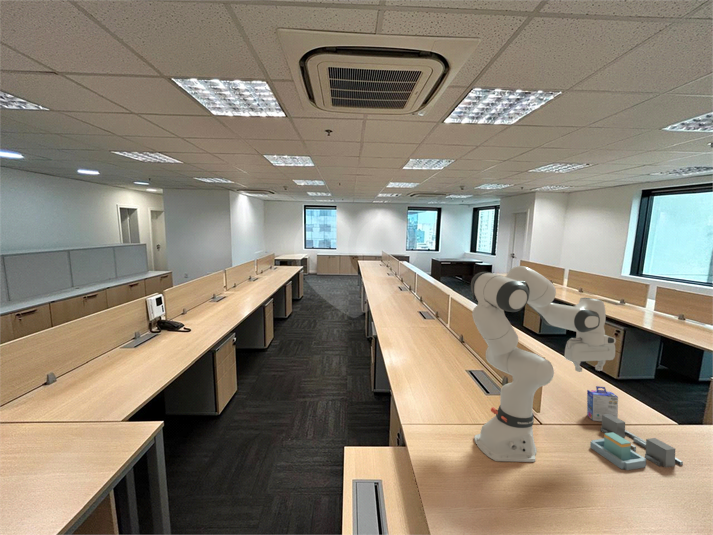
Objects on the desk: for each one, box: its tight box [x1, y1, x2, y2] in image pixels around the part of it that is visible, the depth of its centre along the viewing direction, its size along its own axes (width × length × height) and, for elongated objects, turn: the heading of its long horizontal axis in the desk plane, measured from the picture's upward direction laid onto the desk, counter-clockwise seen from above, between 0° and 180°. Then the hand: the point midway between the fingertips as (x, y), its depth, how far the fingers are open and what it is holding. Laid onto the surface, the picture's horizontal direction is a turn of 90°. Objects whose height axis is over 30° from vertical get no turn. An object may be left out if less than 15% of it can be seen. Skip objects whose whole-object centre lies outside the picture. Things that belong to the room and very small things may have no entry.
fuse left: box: [601, 414, 626, 439], centre depth 117 cm, size 4×6×6 cm, turn 9°
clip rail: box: [600, 426, 684, 467], centre depth 110 cm, size 12×22×2 cm, turn 9°
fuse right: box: [645, 437, 676, 469], centre depth 102 cm, size 4×6×6 cm, turn 9°
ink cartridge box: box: [586, 385, 619, 422], centre depth 128 cm, size 10×6×14 cm, turn 76°
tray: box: [589, 438, 647, 471], centre depth 104 cm, size 10×12×2 cm
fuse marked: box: [603, 432, 632, 461], centre depth 104 cm, size 4×6×6 cm
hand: (588, 370), depth 114 cm, fingers open, 8 cm apart
